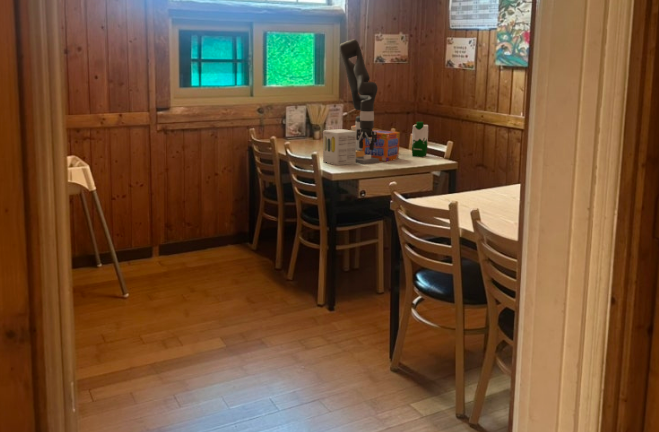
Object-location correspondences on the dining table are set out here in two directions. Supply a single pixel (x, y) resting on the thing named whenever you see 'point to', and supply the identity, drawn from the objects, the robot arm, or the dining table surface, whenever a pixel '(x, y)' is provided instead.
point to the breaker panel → (366, 159)
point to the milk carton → (419, 140)
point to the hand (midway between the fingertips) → (366, 149)
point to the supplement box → (339, 146)
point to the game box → (383, 146)
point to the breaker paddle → (360, 154)
